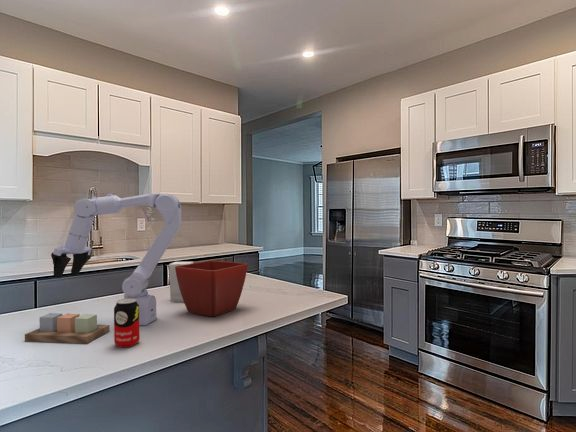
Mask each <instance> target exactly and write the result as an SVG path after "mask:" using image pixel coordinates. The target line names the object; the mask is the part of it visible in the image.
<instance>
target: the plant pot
mask: <svg viewBox="0 0 576 432" xmlns="http://www.w3.org/2000/svg"><path fill="white" fill-rule="evenodd" d="M175 270H176V276H177V280H178V285H179V288H180V292H181V295H182V298H183V301H184V302H183V303H184V305H185V307H186V311H187V312H188V313H191V314H197V315H202V316H206V317H207V316H208V317H216V316H219V315H220V316H221V315H222V314H224V313H228V312H232V311H234V310H236V309H237V307H238V304H239V301H240V299H241V295H242V292H243V289H244V286H245V282H246V281H245V280H246V276H247V271H248V263H245V262H234V261H220V260H207V261H205V260H204V261H200V262H193V264H187V265H181V266H176V267H175Z"/></svg>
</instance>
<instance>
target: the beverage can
mask: <svg viewBox="0 0 576 432" xmlns="http://www.w3.org/2000/svg"><path fill="white" fill-rule="evenodd" d="M115 303H116V304H115V305H114V308H113V325H114V326H113V327H114V328H113V336H114V337H113V338H114V339H113V340H114V341H113V342H114V344H115V345H116V346H117V347H119V348H129V347H132V346H133V347H134V345H136V344H137V343H139V341H140V336H141V335H140V325H139V305H138V303H137V299H133V298H128V299H124V298H123V299H122V298H121V299H118V300H116V302H115Z"/></svg>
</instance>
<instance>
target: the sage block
mask: <svg viewBox="0 0 576 432" xmlns="http://www.w3.org/2000/svg"><path fill="white" fill-rule="evenodd" d="M97 325H98V314H91V313H90V314H88V313H85V314H82V315H81V314H80V316H79V317H77V318H75V333H90V332H92V331H94V330H96V329H97Z"/></svg>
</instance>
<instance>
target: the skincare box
mask: <svg viewBox="0 0 576 432" xmlns="http://www.w3.org/2000/svg"><path fill="white" fill-rule="evenodd" d="M193 263H194V261H174V262H171V263H169V264H168V270H169V272H168V273H169V297H170V302H171V303H184V301H183V298H182V295H181V292H180V288H179V285H178V280H177V276H176V270H175V267H176V266H181V265H187V264H193Z"/></svg>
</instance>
